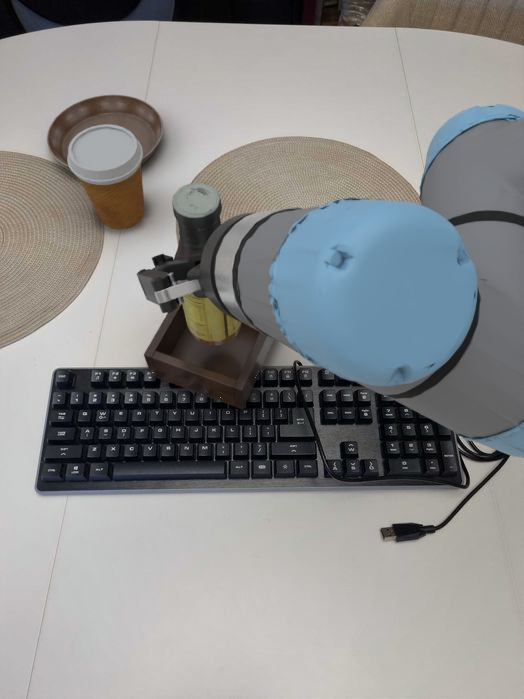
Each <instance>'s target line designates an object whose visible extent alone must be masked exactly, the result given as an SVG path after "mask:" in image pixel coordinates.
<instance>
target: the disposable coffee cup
mask: <svg viewBox="0 0 524 699" xmlns="http://www.w3.org/2000/svg"><path fill="white" fill-rule="evenodd" d="M142 157H143V150H142V146H141V144H140V143H139V141H138V140H137V139H136V138H135V136H134V135H133V134H132V133H131V132H130V131H129V130H127V129H125V128H123V127H120V126H117V125H98V126H93V127H90V128H88V129H85V130H83V131H82V132H80V133H79V134H77V135H76V136H75V137H74V138H73V139H72V141H71V142H70V145H69V148H68V158H67V161H68V165H69V168H68V169H69V170H70V171H71V172H72V173H73V174H74V175H75V176H76V177H77V179H78V180H79V182H80V183H81V186H82V187H83V189H84V192H86V194H87V196H88V198H89V200H90V202H91V204H92V206H93V207H94V209H95V211H96V213H97V215H98V217H99V218H100V220H101V222H102V224H103V225H105V226H106V227H108V228H111V229H114V230H125V229H130V228H132V227H135V226H136V225H138V224H139V223H140V222H141V221H142V220H143V218H144V216H145V199H144V198H145V197H144V185H143V172H142V164H141V161H142Z"/></svg>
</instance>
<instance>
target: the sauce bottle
mask: <svg viewBox="0 0 524 699" xmlns="http://www.w3.org/2000/svg"><path fill="white" fill-rule="evenodd" d="M171 204H172V205H171V206H172V213H173V215H174V218H175V220H176V221H177V225H178V235H179V238H178V239H179V240H178V244H177V249H176V252H175V254H174V256H173V259H174V261H175V260H182V259H188V257H189V256H190V255H192V254H195V253H197V252H200V251H202V250H204V247H205V245H206V243H207V241H208V239H209V237H210V236H211V235H212V233H213V232H214V231H215V230H216V229H217V228H218V227H219V226H220V225H221V224H222V220H221V214H222V212H223V205H222V200H221V195H220V193H219V191H218V190H217V189H216V188H215V187H213V186H212V185H209V184H207V183H201V182H199V183H198V182H197V183H196V182H193V183H187V184H184V185H182V186H181V187H180V188H178V190H176V192H175V193H174V194H173V196H172V201H171ZM183 299H184V301H185V302H184V303H183V304H182V305H183V309H184V313H185V317H186V321H187V325H188V327H189V329H190V332H191V334H192V335H193V336H194V337H195V338H196V339H197V340H198V341H200V342H201V343H204V344H205V345H208V346H217V345H222V344H226V343H229V342H230V341H232V340H233V339H234V338H235V337H236V336H237V334H238V332H239V331H240V328H241V325H242V323H241V322H239V321H237V320H235V319H233V318H232V317H230V316H228V315H226V314H225V313H223V312H222V311H220V310H219V309H218V308H217V307H216V306H215V305H214V304H213V303H212V302H211V301H210V300H209V298H197V297H195V296H194V295H193V293H191V294H188V295H185V296H183Z"/></svg>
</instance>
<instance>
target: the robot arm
mask: <svg viewBox="0 0 524 699" xmlns="http://www.w3.org/2000/svg"><path fill="white" fill-rule="evenodd" d="M418 198H419V201H420V204H418V203H415V202H411V201H405V200H404V201H403V200H387V199H384V198H378V199H370V198H369V197H358V198H357V197H347V198H341V199H337V200H332V201H331V202H328V203H325V204H323V205H317V206H311V207H306V208H305V207H299V206H295V207H281V208H273V209H268V210H259V211H254V212H248V213H247V212H246V213H241V214H238V215H235V216H232V217H230V218H228V219H226V220H225V221H224V222H221V225H220V226H219V227H218V228H217V229H216V230H215V231H214V232H213V233H212V235H211V236H210V237H209V239H208V241H207V243H206V245H205V247H204V250H202V251H200V252H197V253H195V254H192V255H190V256H189V257H188V259H182V260H175V261H174V256H171V255H167V254H164V253H160V254H157V255H154V256H152V257H151V260H152V263H153V265H154V267H152V268H148V269H147V268H142V269H140V270H139V271H137V273H136V277H137V278H138V283H139V285H140V287H141V289H142V292H143V294H144V296H145V299H146V301H147V302H150V303H154V305H158V306H159V308H160V311H161V313H162V314H166V313H171V312H173V311H174V310H175V309H177V308H178V305H181V304H183V303H184V302H185V301H184V299H183V296H185V295H188V294H191V293H193V295H194V296H195V297H197V298H209V300H210V301H211V302H212V303H213V304H214V305H215V306H216V307H217V308H218V309H219V310H220V311H222V312H223V313H225V314H226V315H228V316H230V317H232V318H233V319H235V320H237V321H239V322H241V323H243V324H246V325H248V326H250V327H252V328H254V329H256V330H257V331H259V332H261V333H263V334H265V335H267V336H269V337H271V338H273V339H275V340H276V341H277V342H279V343H280V344H282V345H284V346H286V347H287V348H289V349H291V350H293V351H294V352H296V353H298V354H299V356H301V357H302V358H303V359H305V360H306V361H308V362H309V363H311V364H312V365H313V366H316V367H317V368H320V369H324V370H326V371H327V372H330V373H332V374H334V375H336V376H337V377H339V378H340V379H343V380H347V381H350V382H355V383H357V384H359V385H361V386H363V387H364V388H366V389H368V390H370V391H373V392H375V393H376V394H380V395H383V396H385V397H387V398H390V399H391V400H393V401H395V402H397V403H399V404H400V405H403V406H405V407H407V408H408V409H411V410H412V411H415V412H416V413H418V414H420V415H422V416H424V417H426V418H428V419H430V420H432V421H433V422H435V423H437V424H439V425H440V426H443V427H445V428H447V429H448V430H450V431H452V432H453V433H454V434H456V435H457V437H461V438H462V439H464V440H466V441H468V442H475V443H478V444H481V445H483V446H486V447H487V448H491V449H493V450H496V451H498V452H500V453H503V454H505V455H508V456H512V457H515V458H524V111H522V110H521V109H519V108H516V107H515V106H511V105H508V104H501V103H497V104H495V105H482V106H480V105H475V106H472V107H469V108H466V109H464V110H461V111H460V112H458V113H456V114H454V115H453V116H452V117H450V118H448V120H446V121H445V122H444V123H443V124H442V125H441V126H440V127H439V129H438V130H437V131H436V132H435V133H434V135H433V137H432V138H431V141H430V143H429V145H428V148H427V152H426V157H425V164H424V170H423V173H422V176H421V179H420V185H419V197H418Z"/></svg>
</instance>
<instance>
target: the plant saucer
mask: <svg viewBox="0 0 524 699" xmlns="http://www.w3.org/2000/svg"><path fill="white" fill-rule="evenodd" d="M163 123H164V122H163V120H162V117H161V115H160V113H159V112H158V111H157V110H156V109H155V107H153V106H152V105H151V104H149V103H148V102H146V101H144V100H142V99H139V98H137V97H133V96H130V95H123V94H103V95H97V96H92V97H88V98H85V99H82V100H80V101H77V102H75V103H73V104H72V105H70V106H68V107H67V108H65V109H64V110H62V111H61V112H60V113H58V115H57V116H56V117H55V118H54V120H52V122H51V124H50V126H49V127H48V131H47V134H46V143H47V144H46V145H47V148H48V150H49V152H50V154H51V155H52V156H53V157H54V159H56V161H58V162H59V163H60V164H61V165H63V166H64V167H66V168H68V169H70V168H69V165H68V161H67V158H68V148H69V145H70V142H71V141H72V139H73V138H74V137H75V136H76V135H77V134H79V133H80V132H82V131H83V130H85V129H88V128H90V127H93V126H98V125H117V126H120V127H123V128H125V129H127V130H129V131H130V132H131V133H132V134H133V135H134V136H135V138H136V139H137V140H138V141H139V143H140V144H141V146H142V150H143V157H142V161H141V165H143V164H144V163H145V162H146V161H147V160H148V159H149V158H150V157H151V156H152V155H153V154H154V152H155V151H156V150H157V147H158V146H159V144H160V143H161V139H162V138H163V137H162V136H163V133H164V124H163Z"/></svg>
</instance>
